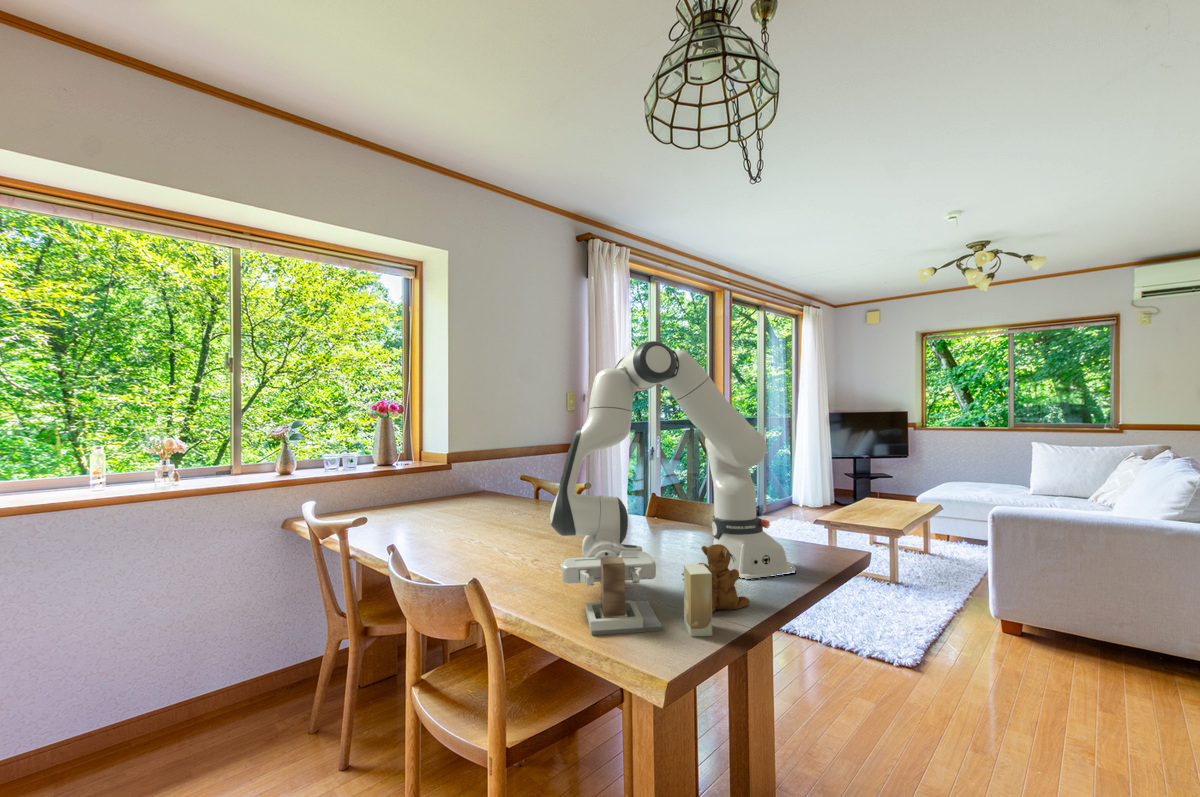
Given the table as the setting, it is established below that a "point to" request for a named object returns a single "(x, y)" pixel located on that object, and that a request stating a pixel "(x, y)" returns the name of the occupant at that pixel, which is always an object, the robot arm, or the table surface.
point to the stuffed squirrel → (723, 578)
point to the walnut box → (612, 588)
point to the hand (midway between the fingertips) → (613, 580)
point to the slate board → (623, 619)
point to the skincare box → (698, 600)
